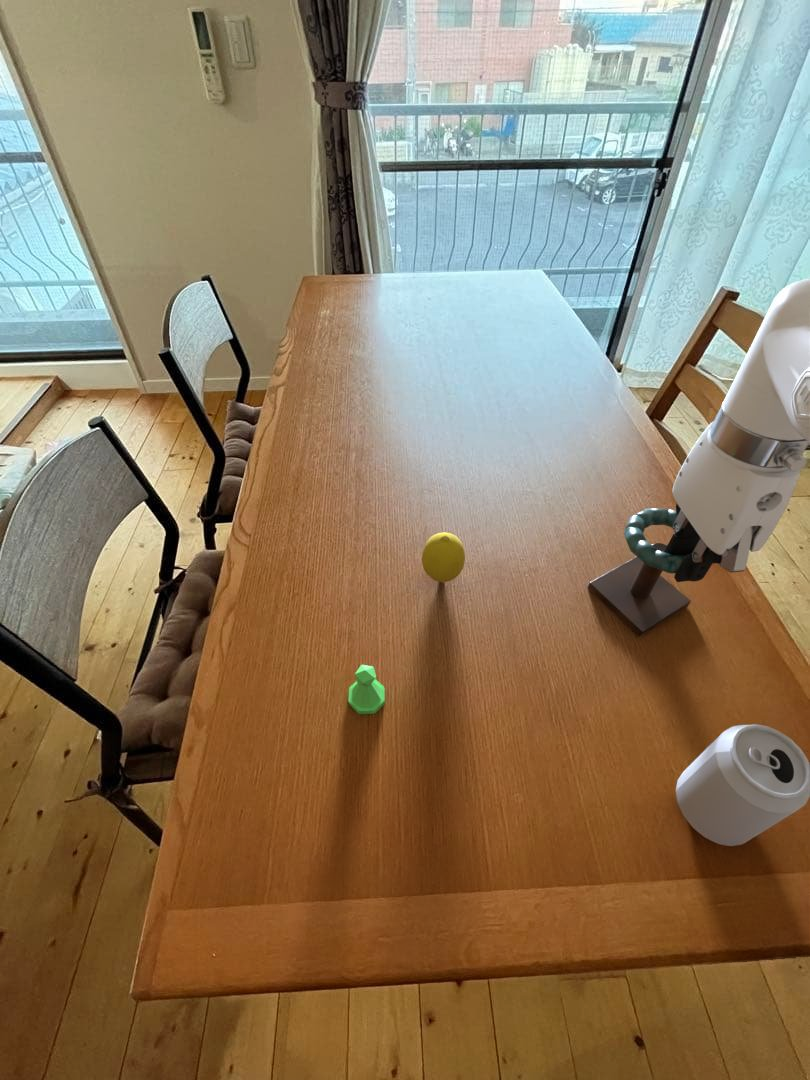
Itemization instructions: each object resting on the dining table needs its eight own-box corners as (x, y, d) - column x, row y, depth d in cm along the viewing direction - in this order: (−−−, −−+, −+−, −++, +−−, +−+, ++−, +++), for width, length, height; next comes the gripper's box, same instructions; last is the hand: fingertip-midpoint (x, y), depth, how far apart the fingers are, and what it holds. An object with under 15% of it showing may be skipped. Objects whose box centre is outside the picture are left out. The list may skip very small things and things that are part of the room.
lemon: (433, 556, 77) (436, 515, 71) (469, 572, 75) (475, 531, 69) (413, 582, 74) (414, 541, 68) (450, 600, 72) (454, 559, 66)
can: (756, 861, 51) (830, 820, 43) (672, 832, 53) (726, 787, 44) (750, 782, 56) (815, 731, 48) (672, 758, 58) (722, 705, 49)
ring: (727, 556, 64) (734, 544, 62) (670, 589, 60) (677, 577, 59) (661, 507, 69) (666, 495, 68) (605, 535, 66) (610, 523, 64)
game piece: (357, 675, 64) (354, 647, 60) (391, 687, 63) (391, 660, 59) (341, 707, 61) (337, 680, 57) (376, 721, 60) (375, 694, 56)
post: (687, 606, 71) (718, 559, 65) (639, 637, 68) (666, 591, 61) (634, 561, 77) (657, 513, 70) (587, 588, 73) (606, 540, 67)
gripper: (860, 489, 44) (752, 623, 57) (747, 382, 55) (678, 516, 68) (773, 497, 43) (683, 631, 56) (676, 387, 54) (620, 521, 67)
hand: (681, 567), depth 62 cm, fingers closed on ring, 2 cm apart
